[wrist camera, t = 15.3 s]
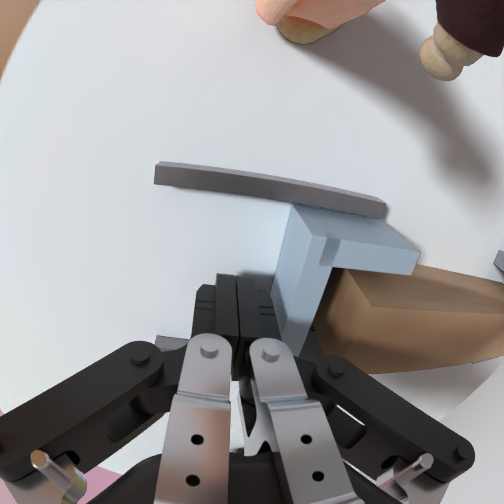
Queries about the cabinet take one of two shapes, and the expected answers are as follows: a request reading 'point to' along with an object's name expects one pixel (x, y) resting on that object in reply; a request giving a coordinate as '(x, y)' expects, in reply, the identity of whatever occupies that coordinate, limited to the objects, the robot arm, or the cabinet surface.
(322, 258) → the cap
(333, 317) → the brown wooden bar
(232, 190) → the track
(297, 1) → the grandmother figurine
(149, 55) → the cabinet surface
